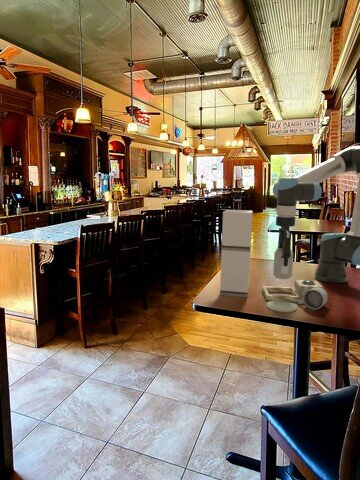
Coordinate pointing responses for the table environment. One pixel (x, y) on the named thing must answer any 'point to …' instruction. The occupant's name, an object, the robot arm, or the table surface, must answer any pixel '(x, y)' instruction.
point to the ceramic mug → (314, 298)
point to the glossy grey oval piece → (308, 282)
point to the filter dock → (289, 291)
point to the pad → (281, 306)
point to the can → (278, 263)
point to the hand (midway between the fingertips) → (282, 270)
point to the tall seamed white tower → (235, 252)
